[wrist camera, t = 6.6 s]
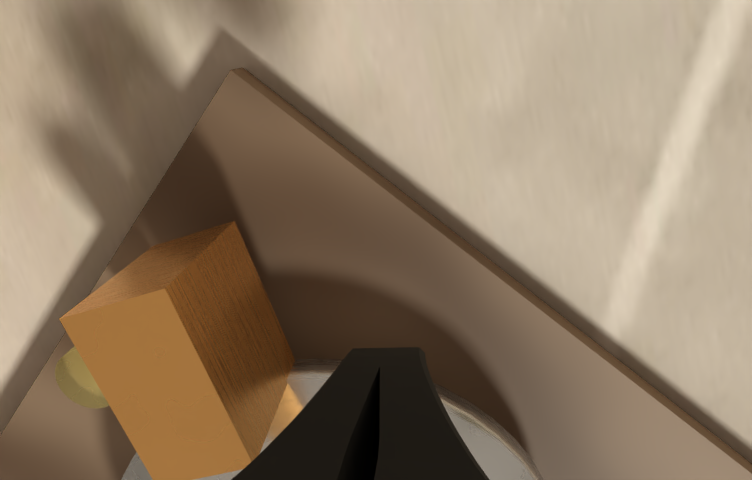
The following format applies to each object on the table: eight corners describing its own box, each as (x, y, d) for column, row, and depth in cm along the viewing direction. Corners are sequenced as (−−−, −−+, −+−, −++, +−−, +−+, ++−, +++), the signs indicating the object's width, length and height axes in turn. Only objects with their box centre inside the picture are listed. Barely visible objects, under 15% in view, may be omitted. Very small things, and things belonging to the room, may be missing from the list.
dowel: (173, 334, 17) (102, 419, 13) (129, 305, 17) (44, 382, 13) (199, 299, 16) (132, 377, 13) (154, 268, 16) (72, 338, 12)
